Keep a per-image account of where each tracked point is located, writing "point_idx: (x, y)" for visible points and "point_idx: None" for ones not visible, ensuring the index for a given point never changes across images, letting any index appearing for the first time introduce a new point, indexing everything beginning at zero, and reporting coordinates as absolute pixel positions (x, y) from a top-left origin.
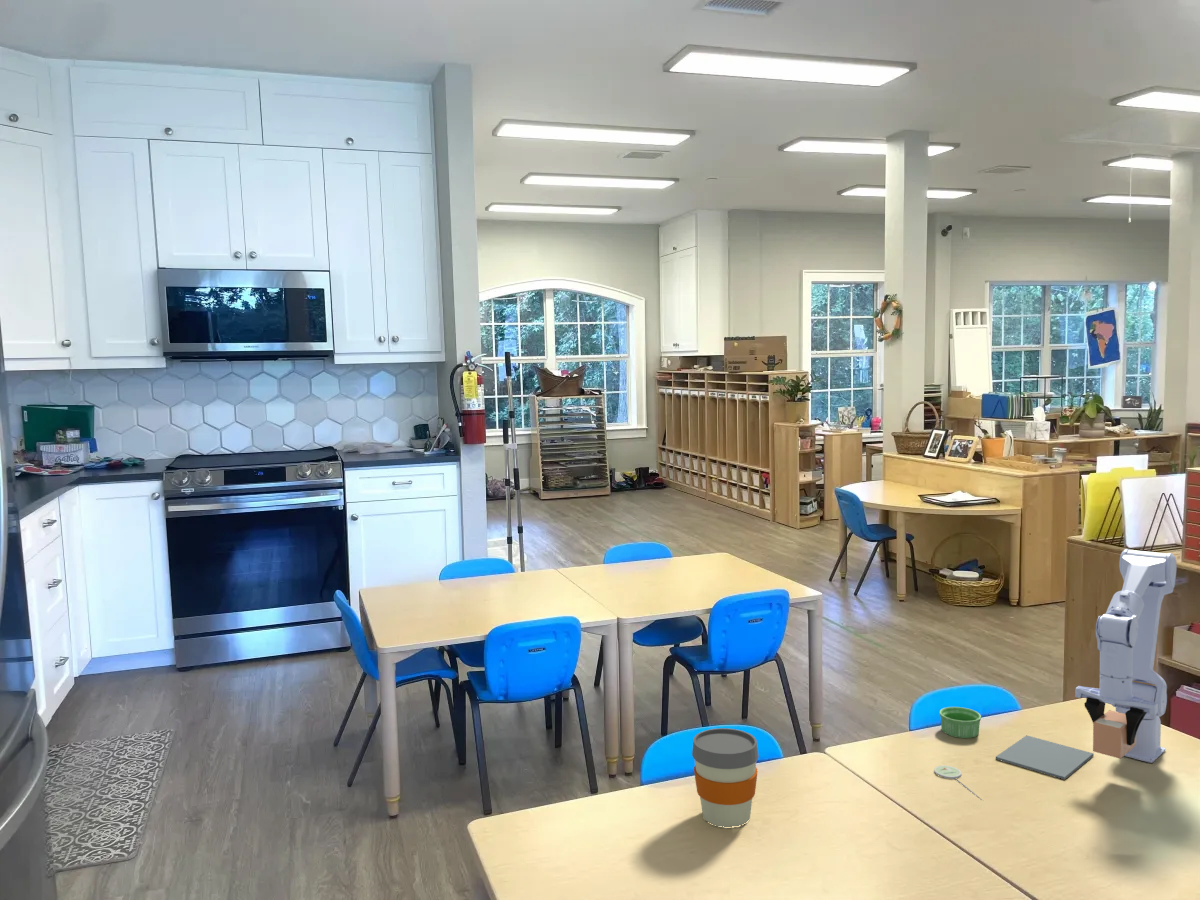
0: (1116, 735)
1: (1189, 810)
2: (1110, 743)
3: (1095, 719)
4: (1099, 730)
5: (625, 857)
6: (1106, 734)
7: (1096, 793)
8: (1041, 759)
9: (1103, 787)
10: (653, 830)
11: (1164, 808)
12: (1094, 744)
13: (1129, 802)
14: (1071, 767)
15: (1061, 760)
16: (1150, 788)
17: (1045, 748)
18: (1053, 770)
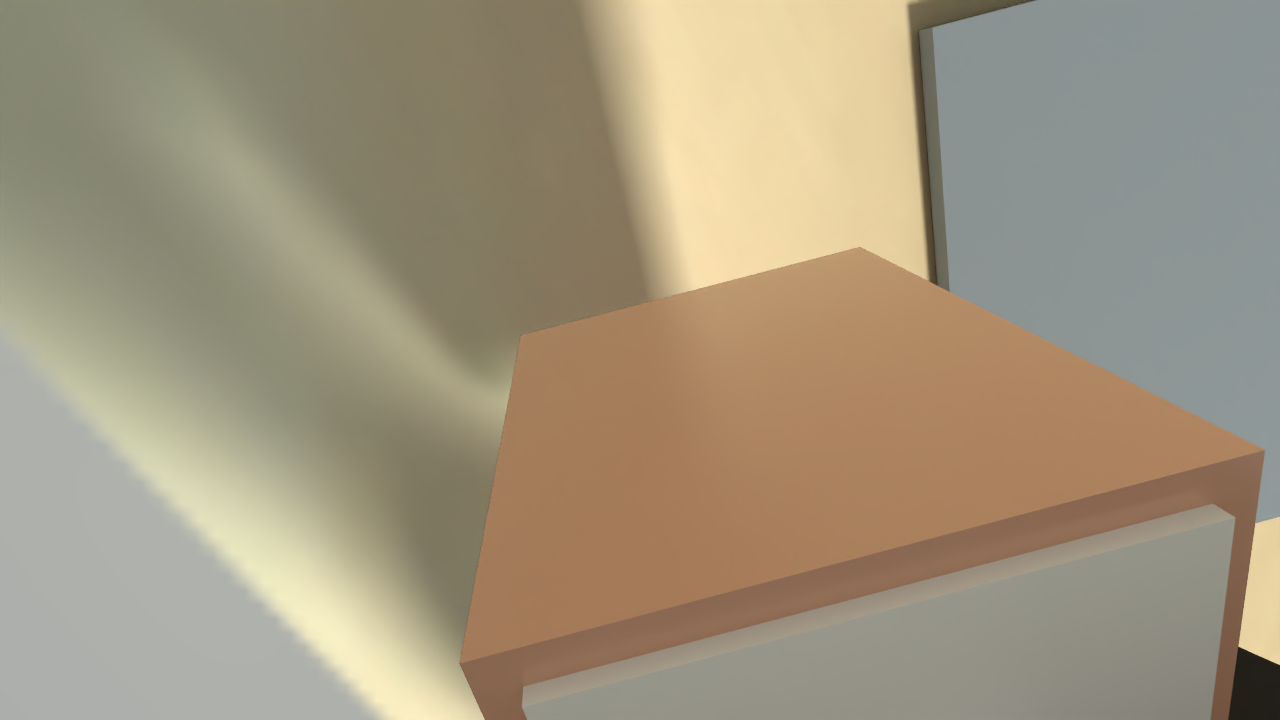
0: (581, 493)
1: (72, 392)
2: (670, 368)
3: (1245, 708)
4: (960, 405)
5: None
6: (787, 422)
7: (615, 21)
8: (1208, 192)
9: (651, 193)
10: None
11: (164, 260)
12: (889, 278)
13: (362, 110)
14: (976, 268)
15: (1082, 317)
16: (461, 477)
17: (1244, 402)
18: (1057, 71)
